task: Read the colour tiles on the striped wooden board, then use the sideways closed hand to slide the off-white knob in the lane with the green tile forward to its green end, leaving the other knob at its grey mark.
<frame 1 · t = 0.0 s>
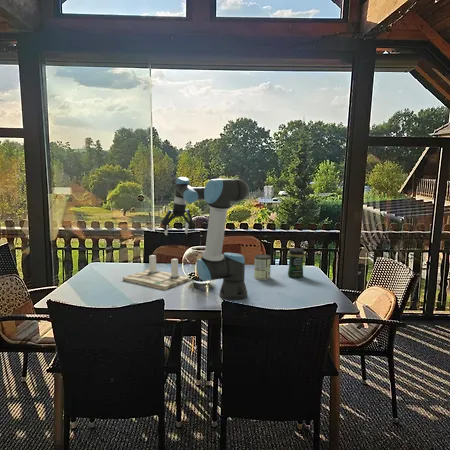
hand: (175, 233, 250), 28 cm above the table, tool tilted 20°, fingers open, 13 cm apart
striped wooden board: (157, 280, 246), on the table
coffee can: (262, 278, 254), on the table
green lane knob: (174, 268, 245), point 8 cm above the table, slide at 0.0 cm
grey lane knob: (152, 264, 254), point 8 cm above the table, slide at 0.0 cm
coffee jar: (295, 276, 258), on the table
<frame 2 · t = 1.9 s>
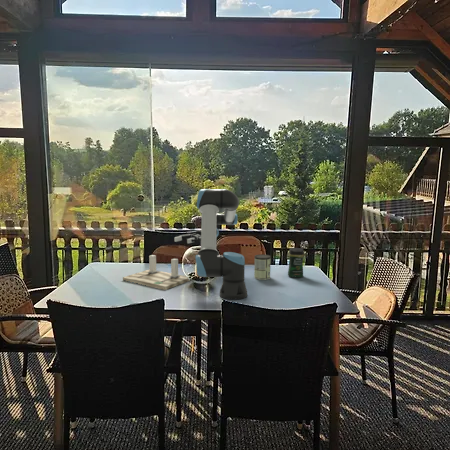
hand: (181, 240, 248), 24 cm above the table, tool horizontal, fingers open, 9 cm apart
nothing on the table moved.
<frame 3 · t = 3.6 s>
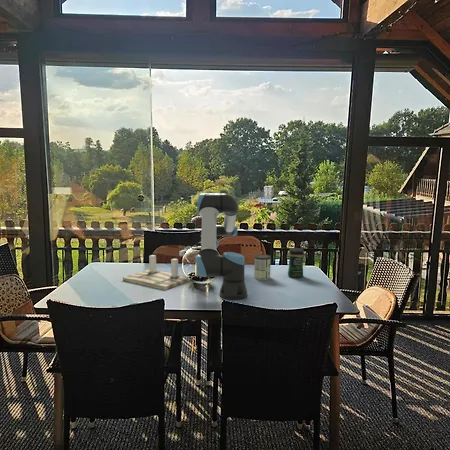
hand: (180, 253, 249), 16 cm above the table, tool horizontal, fingers closed
nothing on the table moved.
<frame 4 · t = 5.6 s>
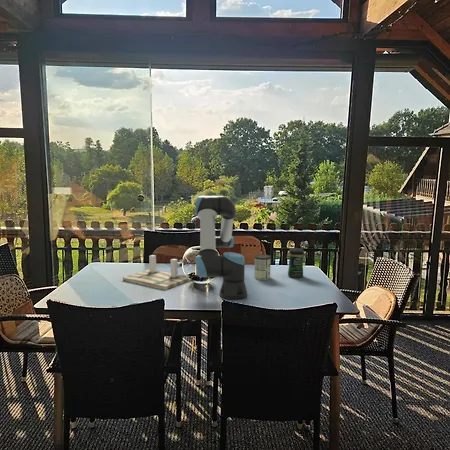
hand: (175, 265, 246), 9 cm above the table, tool horizontal, fingers closed
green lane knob: (174, 268, 244), point 8 cm above the table, slide at 0.6 cm, touching gripper
everything else where it was.
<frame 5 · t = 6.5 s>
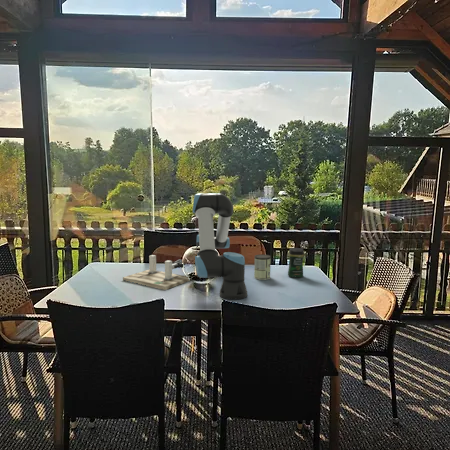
hand: (169, 267, 242), 9 cm above the table, tool horizontal, fingers closed
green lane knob: (168, 270, 240), point 8 cm above the table, slide at 5.8 cm, touching gripper
everything else where it was.
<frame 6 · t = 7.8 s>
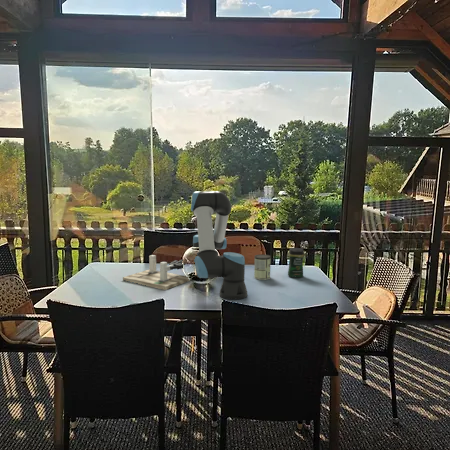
hand: (165, 269, 238), 9 cm above the table, tool horizontal, fingers closed
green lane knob: (163, 271, 236), point 8 cm above the table, slide at 10.2 cm, touching gripper
everything else where it was.
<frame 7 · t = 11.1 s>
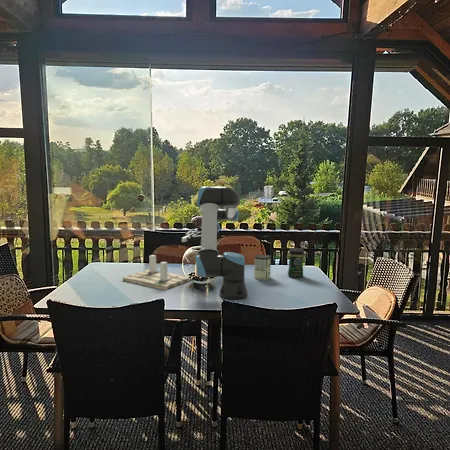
hand: (182, 240, 246), 25 cm above the table, tool horizontal, fingers closed
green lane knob: (163, 271, 236), point 8 cm above the table, slide at 10.1 cm
everything else where it was.
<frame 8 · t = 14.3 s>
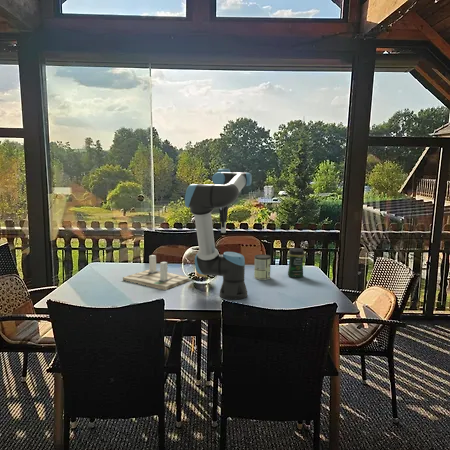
hand: (223, 232, 247), 29 cm above the table, tool pointing down, fingers closed
nothing on the table moved.
at the end: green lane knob slide at 10.1 cm; grey lane knob slide at 0.0 cm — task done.
